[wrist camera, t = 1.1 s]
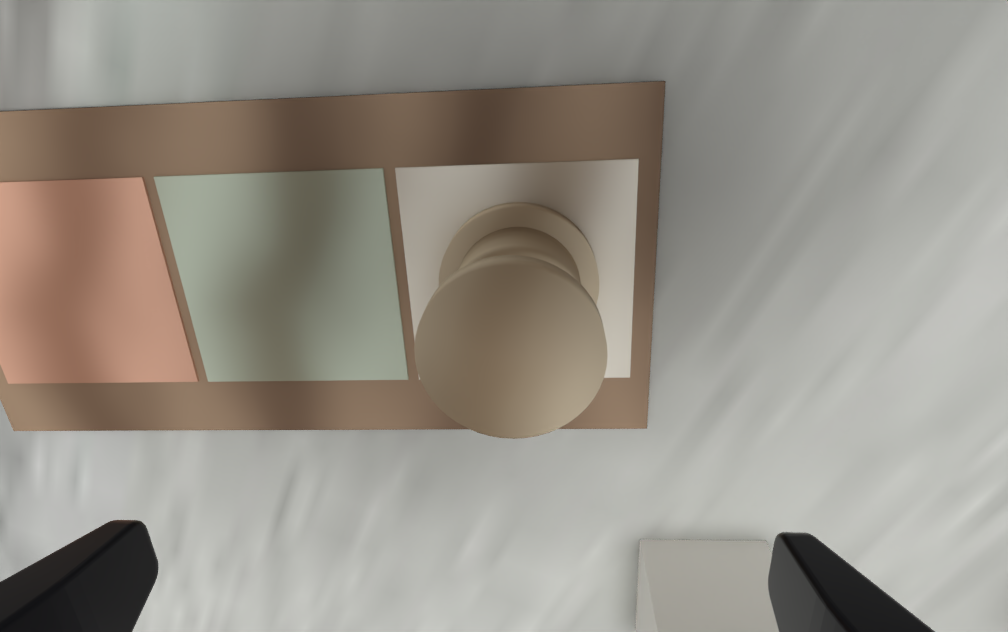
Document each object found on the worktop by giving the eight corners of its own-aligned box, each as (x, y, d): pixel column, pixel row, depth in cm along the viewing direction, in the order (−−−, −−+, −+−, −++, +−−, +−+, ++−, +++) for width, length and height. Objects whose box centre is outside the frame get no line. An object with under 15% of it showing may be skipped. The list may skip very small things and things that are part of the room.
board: (663, 81, 18) (666, 81, 18) (646, 425, 23) (647, 430, 22) (-113, 116, 20) (-122, 117, 20) (17, 428, 25) (11, 432, 24)
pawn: (598, 199, 19) (619, 254, 14) (596, 347, 21) (613, 444, 16) (436, 204, 20) (395, 259, 14) (448, 349, 22) (417, 445, 16)
